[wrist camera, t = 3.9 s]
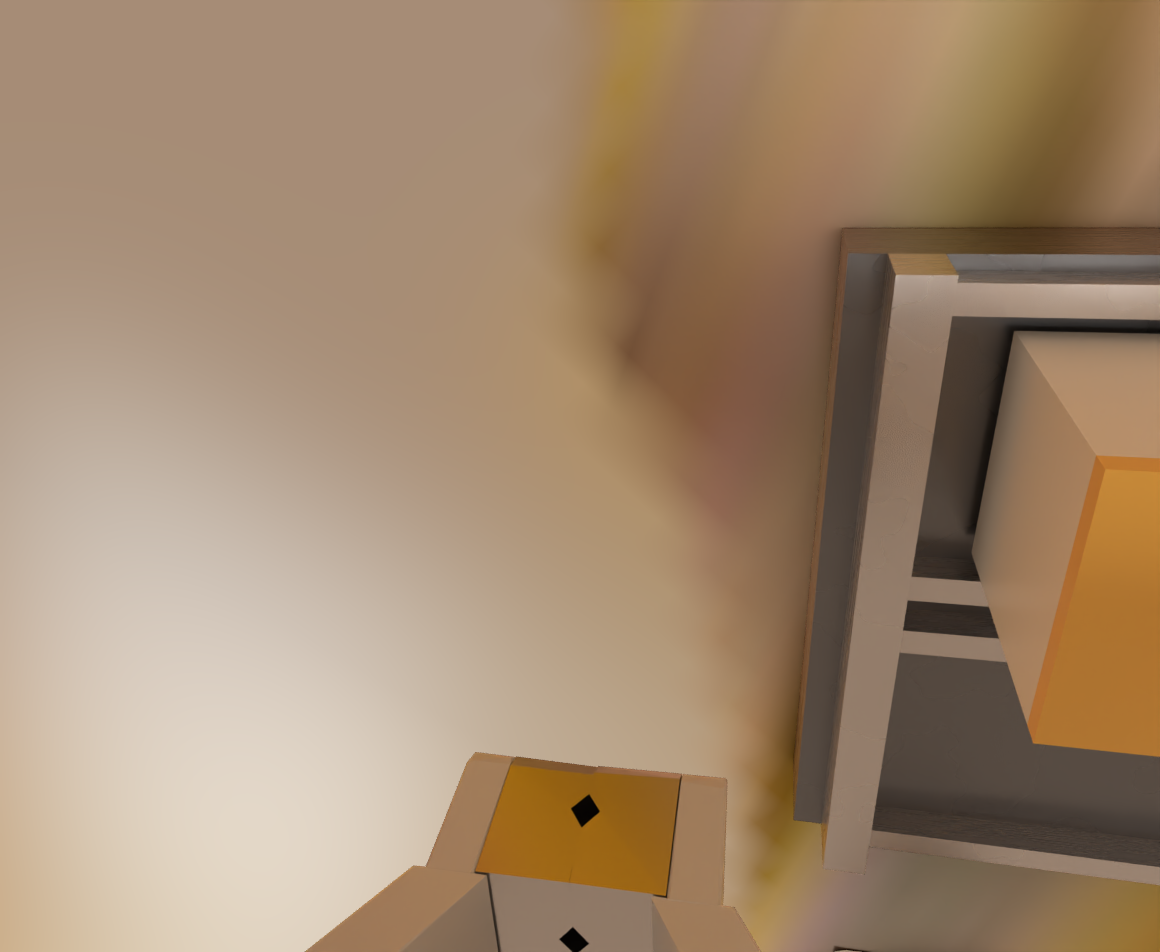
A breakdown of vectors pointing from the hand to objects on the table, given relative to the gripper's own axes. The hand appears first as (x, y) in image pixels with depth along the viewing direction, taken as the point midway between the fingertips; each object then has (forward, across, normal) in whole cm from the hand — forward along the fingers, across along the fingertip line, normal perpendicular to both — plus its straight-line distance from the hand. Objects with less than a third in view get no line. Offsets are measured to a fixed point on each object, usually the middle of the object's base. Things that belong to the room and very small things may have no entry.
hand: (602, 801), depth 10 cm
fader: (+9, -8, 0) cm, 12 cm away
